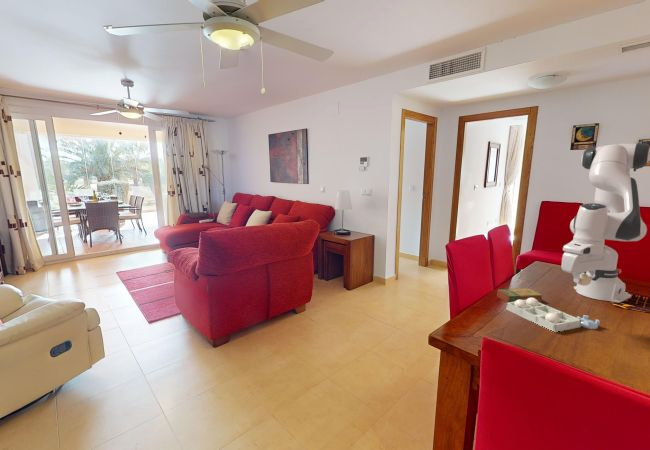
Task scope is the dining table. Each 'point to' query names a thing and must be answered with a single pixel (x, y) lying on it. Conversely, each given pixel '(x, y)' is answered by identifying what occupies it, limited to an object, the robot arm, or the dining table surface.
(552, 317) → the egg
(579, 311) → the dining table surface
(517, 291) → the carton
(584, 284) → the egg
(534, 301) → the egg
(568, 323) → the tray
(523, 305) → the egg
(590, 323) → the egg cup
